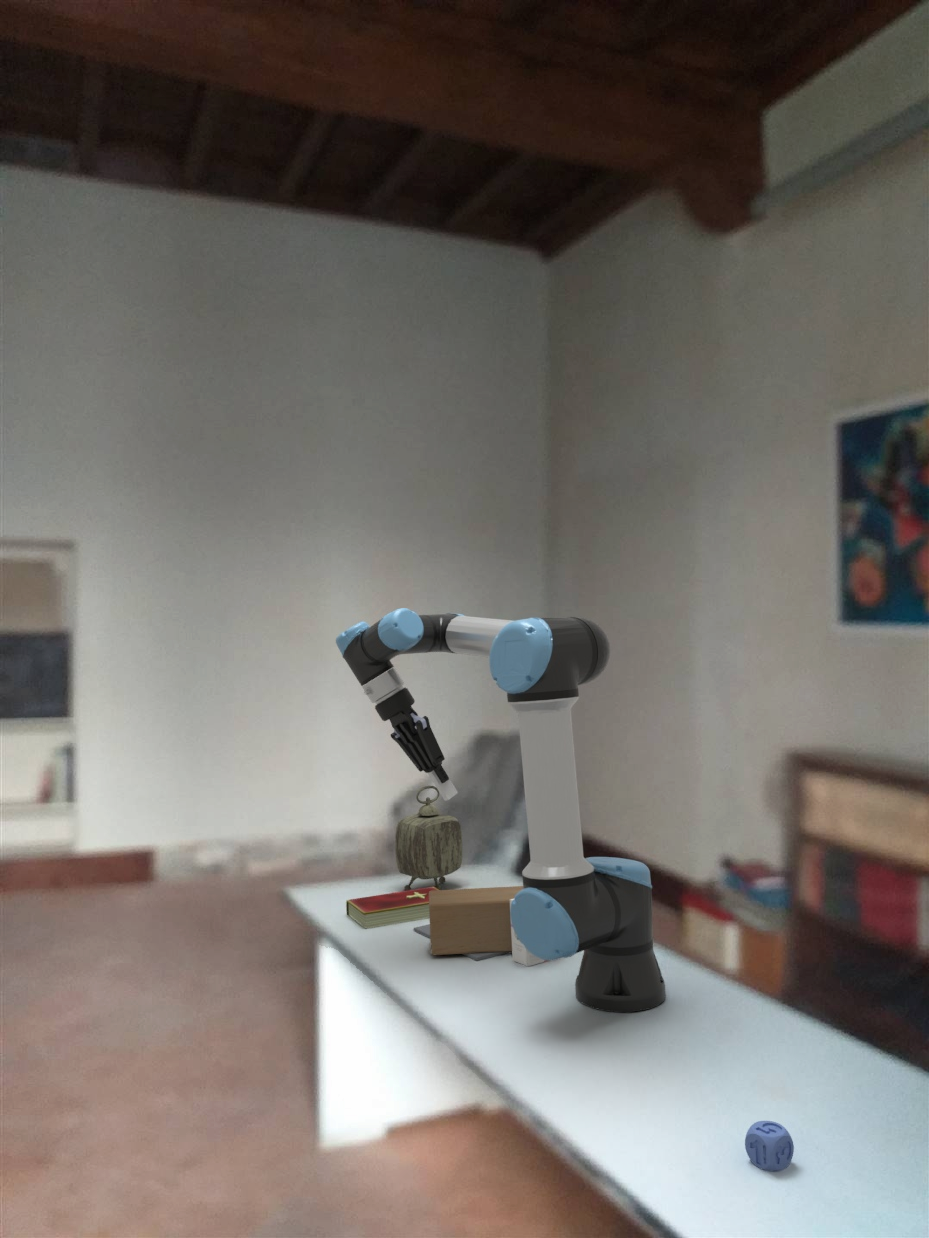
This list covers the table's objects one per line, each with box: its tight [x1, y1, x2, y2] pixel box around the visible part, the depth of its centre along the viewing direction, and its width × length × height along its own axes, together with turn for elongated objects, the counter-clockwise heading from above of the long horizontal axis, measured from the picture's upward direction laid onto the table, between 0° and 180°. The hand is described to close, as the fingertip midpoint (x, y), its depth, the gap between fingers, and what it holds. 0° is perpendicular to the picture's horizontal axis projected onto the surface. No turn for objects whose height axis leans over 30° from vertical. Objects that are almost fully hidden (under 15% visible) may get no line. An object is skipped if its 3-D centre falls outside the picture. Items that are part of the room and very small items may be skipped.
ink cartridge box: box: [510, 898, 550, 967], centre depth 193 cm, size 9×5×15 cm, turn 124°
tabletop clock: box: [394, 785, 463, 891], centre depth 245 cm, size 14×9×25 cm, turn 130°
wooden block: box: [429, 885, 523, 956], centre depth 200 cm, size 10×10×20 cm
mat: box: [413, 923, 512, 962], centre depth 208 cm, size 24×19×1 cm
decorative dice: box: [744, 1120, 795, 1172], centre depth 119 cm, size 4×4×4 cm
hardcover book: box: [345, 886, 439, 929], centre depth 225 cm, size 12×21×4 cm, turn 115°
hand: (451, 796), depth 202 cm, fingers closed
